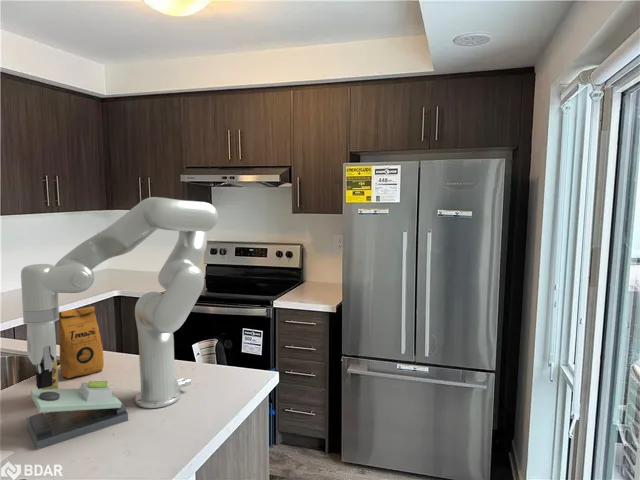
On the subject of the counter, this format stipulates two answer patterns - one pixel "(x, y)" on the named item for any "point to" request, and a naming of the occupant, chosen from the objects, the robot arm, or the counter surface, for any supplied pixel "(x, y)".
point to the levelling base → (71, 424)
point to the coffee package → (79, 343)
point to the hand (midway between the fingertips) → (44, 386)
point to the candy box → (53, 376)
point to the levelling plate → (76, 398)
